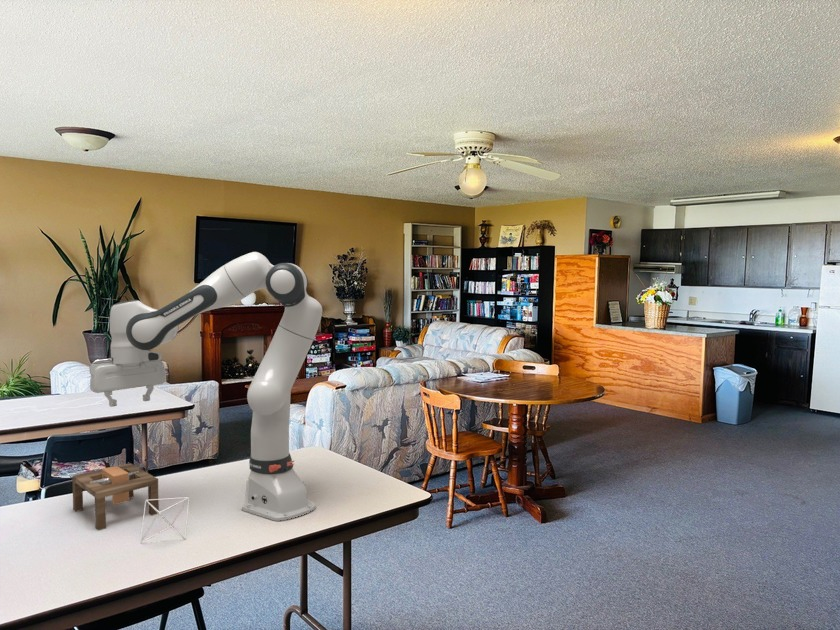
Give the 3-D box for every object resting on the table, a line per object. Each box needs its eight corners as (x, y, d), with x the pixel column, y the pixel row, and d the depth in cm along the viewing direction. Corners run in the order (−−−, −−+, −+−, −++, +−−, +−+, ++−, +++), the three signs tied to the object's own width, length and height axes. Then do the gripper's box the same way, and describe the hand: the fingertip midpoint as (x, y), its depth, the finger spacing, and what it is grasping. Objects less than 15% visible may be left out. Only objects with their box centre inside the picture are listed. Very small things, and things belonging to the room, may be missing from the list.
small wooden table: (158, 513, 170) (158, 478, 169) (98, 530, 158) (97, 493, 158) (131, 495, 183) (130, 463, 183) (73, 509, 172) (72, 475, 171)
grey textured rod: (139, 476, 174) (139, 471, 174) (91, 488, 165) (91, 482, 165) (137, 475, 176) (137, 470, 175) (89, 486, 166) (89, 481, 166)
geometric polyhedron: (199, 531, 158) (199, 498, 158) (170, 549, 148) (169, 513, 147) (161, 525, 162) (161, 492, 162) (130, 541, 152) (129, 506, 151)
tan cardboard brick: (129, 500, 169) (128, 473, 168) (114, 504, 166) (113, 476, 166) (117, 492, 175) (116, 465, 175) (102, 496, 172) (101, 468, 172)
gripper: (93, 361, 163) (95, 411, 164) (167, 353, 178) (169, 399, 179) (85, 359, 168) (87, 407, 168) (158, 351, 183) (159, 396, 183)
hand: (130, 403), depth 174 cm, fingers open, 8 cm apart
